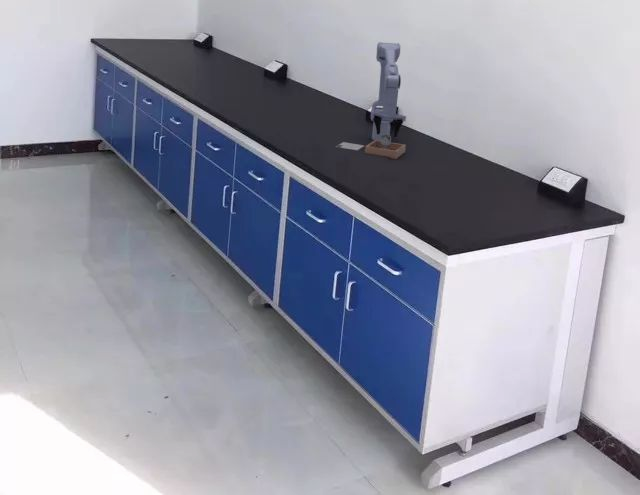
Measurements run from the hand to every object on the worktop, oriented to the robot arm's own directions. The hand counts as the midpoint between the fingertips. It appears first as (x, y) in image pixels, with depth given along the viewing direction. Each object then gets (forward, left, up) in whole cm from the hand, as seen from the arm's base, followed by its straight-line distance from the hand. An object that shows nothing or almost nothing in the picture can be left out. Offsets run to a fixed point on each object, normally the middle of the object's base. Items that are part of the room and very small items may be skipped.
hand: (386, 135), depth 338 cm
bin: (0, 0, -8) cm, 8 cm away
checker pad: (0, -16, -8) cm, 18 cm away
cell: (0, 0, -7) cm, 7 cm away
